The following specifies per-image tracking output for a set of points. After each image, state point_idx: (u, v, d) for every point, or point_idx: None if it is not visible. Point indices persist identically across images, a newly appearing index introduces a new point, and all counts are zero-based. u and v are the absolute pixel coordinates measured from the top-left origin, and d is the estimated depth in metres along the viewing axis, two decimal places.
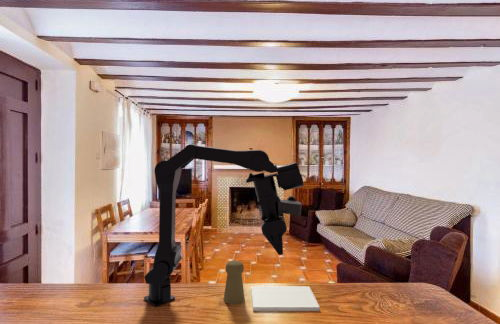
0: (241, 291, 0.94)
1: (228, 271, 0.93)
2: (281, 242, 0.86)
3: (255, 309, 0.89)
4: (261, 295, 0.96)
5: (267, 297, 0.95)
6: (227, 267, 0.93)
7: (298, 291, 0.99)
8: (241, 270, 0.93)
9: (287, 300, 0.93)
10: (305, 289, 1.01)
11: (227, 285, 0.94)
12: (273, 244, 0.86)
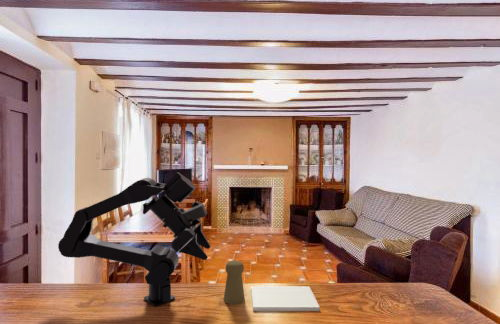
0: (241, 291, 0.94)
1: (228, 271, 0.93)
2: (199, 248, 0.88)
3: (255, 309, 0.89)
4: (261, 295, 0.96)
5: (267, 297, 0.95)
6: (227, 267, 0.93)
7: (298, 291, 0.99)
8: (241, 270, 0.93)
9: (287, 300, 0.93)
10: (305, 289, 1.01)
11: (227, 285, 0.94)
12: (193, 254, 0.88)
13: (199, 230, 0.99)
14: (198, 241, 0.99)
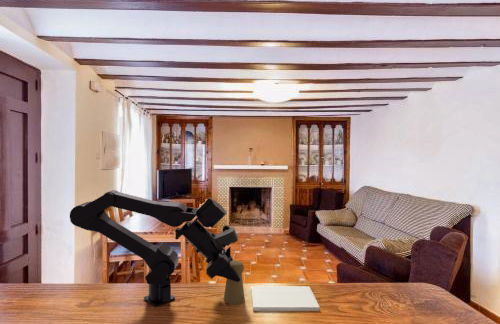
0: (241, 291, 0.94)
1: None
2: (232, 271, 0.91)
3: (255, 309, 0.89)
4: (261, 295, 0.96)
5: (267, 297, 0.95)
6: None
7: (298, 291, 0.99)
8: (241, 270, 0.93)
9: (287, 300, 0.93)
10: (305, 289, 1.01)
11: (227, 285, 0.94)
12: (227, 276, 0.91)
13: (229, 255, 0.98)
14: None
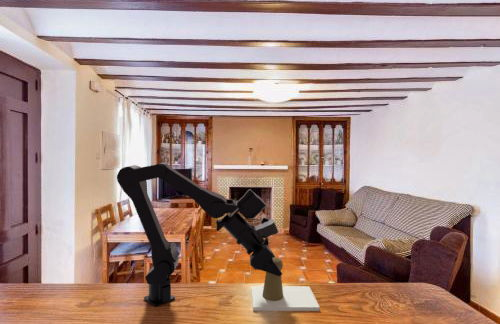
0: (280, 288, 0.94)
1: None
2: (275, 265, 0.89)
3: (255, 309, 0.89)
4: (261, 295, 0.96)
5: None
6: None
7: (298, 291, 0.99)
8: (281, 267, 0.94)
9: (287, 300, 0.93)
10: (305, 289, 1.01)
11: (266, 282, 0.94)
12: (269, 271, 0.90)
13: (267, 245, 1.00)
14: None
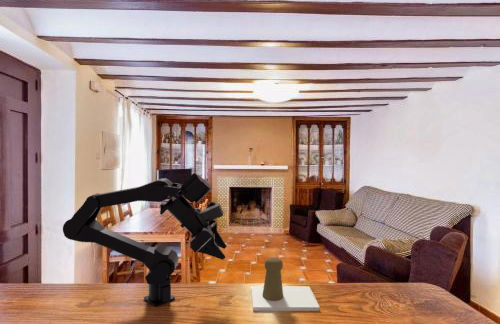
0: (280, 288, 0.94)
1: (268, 268, 0.94)
2: (217, 248, 0.89)
3: (255, 309, 0.89)
4: (261, 295, 0.96)
5: None
6: (267, 263, 0.94)
7: (298, 291, 0.99)
8: (281, 267, 0.94)
9: (287, 300, 0.93)
10: (305, 289, 1.01)
11: (266, 282, 0.94)
12: (211, 254, 0.89)
13: (215, 230, 0.99)
14: (214, 241, 0.99)
